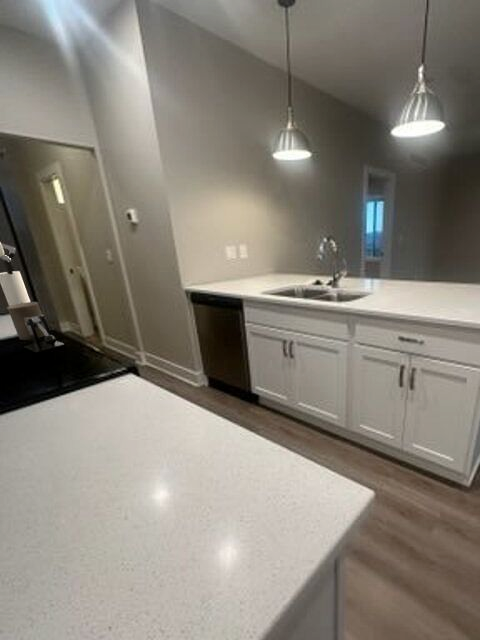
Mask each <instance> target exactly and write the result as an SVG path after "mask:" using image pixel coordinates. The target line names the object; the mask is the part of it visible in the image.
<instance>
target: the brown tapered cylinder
mask: <svg viewBox="0 0 480 640" xmlns="http://www.w3.org/2000/svg"><path fill="white" fill-rule="evenodd" d="M6 309H7V310H8V313H9V316H10V318H11V321H12V324H13V327H14V329H15V331H16V334H17V337H18V339H19V340H20V341H21V340H22V341H29V340H32V339H31V336H30V333H29V331H28V328H27V326H26V324H25V320H24V318H25V317H28V318H30V317H35V316H37V315H43V314H42V313H43V312H42V311H41V308H40V305H39V302H38V301H30V302H28V303H21V304H16V305H12V306H9V305H8V306H7V307H6ZM35 330H36V333H37V335H38V338H39V339H40V338H42V337H45V336H44V335H43V333H42V332H41V331H40V330H39V328H38V327H35Z"/></svg>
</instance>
